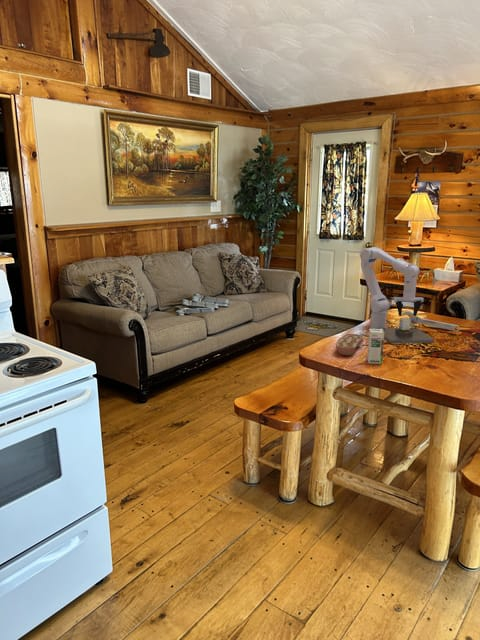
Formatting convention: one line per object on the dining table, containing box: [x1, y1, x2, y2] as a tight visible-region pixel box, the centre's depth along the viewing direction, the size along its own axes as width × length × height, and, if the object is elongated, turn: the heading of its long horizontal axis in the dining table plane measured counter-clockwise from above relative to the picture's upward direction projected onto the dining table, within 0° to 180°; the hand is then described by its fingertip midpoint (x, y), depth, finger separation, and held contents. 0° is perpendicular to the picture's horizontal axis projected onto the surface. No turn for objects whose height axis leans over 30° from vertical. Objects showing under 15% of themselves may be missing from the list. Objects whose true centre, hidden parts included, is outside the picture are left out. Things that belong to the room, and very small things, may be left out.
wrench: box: [401, 310, 461, 332], centre depth 263 cm, size 8×2×30 cm
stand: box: [376, 326, 435, 344], centre depth 248 cm, size 22×22×4 cm
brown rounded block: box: [335, 333, 364, 357], centre depth 227 cm, size 23×10×5 cm, turn 153°
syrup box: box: [366, 328, 385, 365], centre depth 211 cm, size 6×6×14 cm
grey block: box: [398, 317, 411, 330], centre depth 247 cm, size 4×4×5 cm
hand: (407, 315), depth 249 cm, fingers open, 7 cm apart
